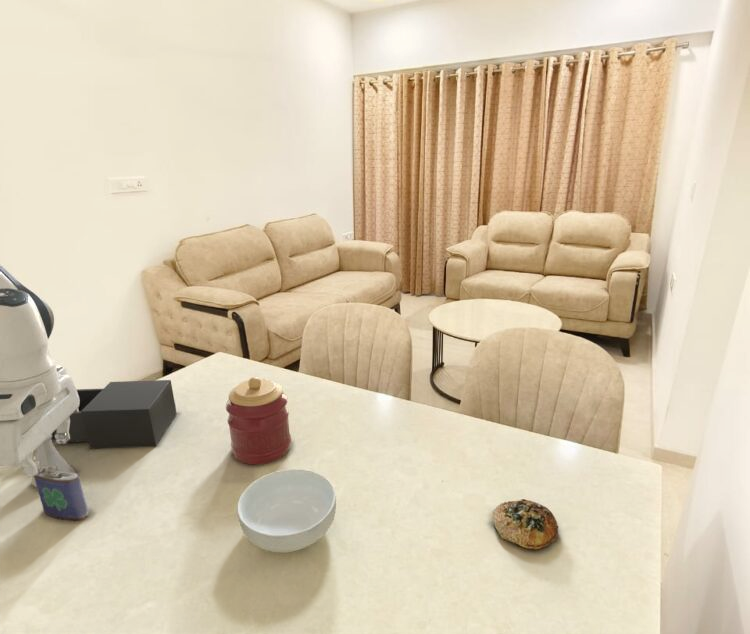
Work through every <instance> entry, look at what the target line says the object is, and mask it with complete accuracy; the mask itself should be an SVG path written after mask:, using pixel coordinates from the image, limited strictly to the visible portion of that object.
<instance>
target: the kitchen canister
mask: <svg viewBox="0 0 750 634" xmlns="http://www.w3.org/2000/svg"><path fill="white" fill-rule="evenodd" d="M283 391H284V389H283V386H281V384H279V383H278V382H275V381H272V380H270V379H266V378H259V376H252V377H250V378H249V379H248V380H245V381H243V382H240V383H239V384H238V385H236V386H235V387H233V388H232V389H231V390H230V391H229V393H228V400H227V401H226V403H225V410H226V412H227V413H228V417H227V424H228V429H229V434H230V447H231V452H232V453H233V456H234V459H236V460H237V461H239V462H240V463H243V464H247V465H257V466H258V465H265V464H269V463H273V462H275V461H277V460H280V459H281V458H283V457H285V455H286V454H287V453H288V452H289V450H290V448H291V443H292V438H291V437H292V435H291V432H290V423H289V415H290V412H289V409H288V407H286V406H287V404H288V396H287V395H286V393H284V392H283Z"/></svg>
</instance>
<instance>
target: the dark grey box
mask: <svg viewBox="0 0 750 634" xmlns="http://www.w3.org/2000/svg"><path fill="white" fill-rule="evenodd" d="M102 389H103V390H102V391H101V392H100V393H99V394H98V395H97V396H96V397H95V398H94V399H93V400H92V401H91V402H90V403H89V404H88V405H87V406H86V407H85V408H84V409H83V410H82V411H81V414H82V418H83V422H84V425H85V429H86V433H87V437H88V441H87V442H88V445H89V447H90V449H91V450H94V449H96V450H97V449H120V448H146V447H147V448H148V447H149V448H150V447H157V446H158V445H159V443H160V442H161V440H162V438H163V436H164V435H165V434H166V432H167V430H168V428H169V427H170V426H171V424H172V422H173V421H174V419H175V418H176V416H177V415H178V413H177V408H176V407H177V406H176V403H175V397H174V391H173V384H172V380H171V379H158V380H129V381H109V382H108V383H107V384H106V386H105V387H104V388H102Z"/></svg>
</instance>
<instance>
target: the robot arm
mask: <svg viewBox="0 0 750 634" xmlns="http://www.w3.org/2000/svg"><path fill="white" fill-rule="evenodd" d="M54 325H55V315H54V312H53V310H52V308H51V306H50V305H49V304H48V303H47V302H46V301H45V300H44V299H43V298H42V297H40V296H39V295H37V293H35V292H34V291H32V290H30V289H29V288H28V287H26V286H25V285H24V284H22V283H21V282H20V281H19V280H18V279H16V278H15V277H14V276H13V274H12V273H10V272H9V271H8V270H7V269H6V268H5V267H4V266H3V265H2V264H0V467H17V466H20V467H21V468H23V470H24V474H25V475H26V476H28V477H31V476H32V477H33V476H35V475H36V474H37V473H38V472H39V471H40V470H41V467H40V462H39V461H37V462H36V461H34V459H32V458H33V457H34V455H33V452H35V451H36V448H37V447H38V446H39V445H41V444H42V443H43V442H44V441H45V440H46V439H47V438H48V437H49V436H50V435H51V434H52V433H53V432H54V431H55V430H56V429H57V434H56V435H55V439H56V441H55V443H56V444H58V445H62V444H63V445H65V444H67V443H68V442H67V441H68V440H69V439H70V435H69V426H70V417H69V416H70V415H71V414H72V413H73V412H74V411H75V410H76V409H77V410H78V407H79V403H80V399H79V396H78V393H77V390H76V389H77V387H76V384H75V382H74V380H73V379H72V376H70V374H68V372H67V369H66V368H65V367H63V366H62V365H59V364H56V362H55V361H54V358H53V357H52V356H51V354H50V351H49V339H50V337H51V335H52V333H53V331H54ZM55 439H54V440H55Z"/></svg>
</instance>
